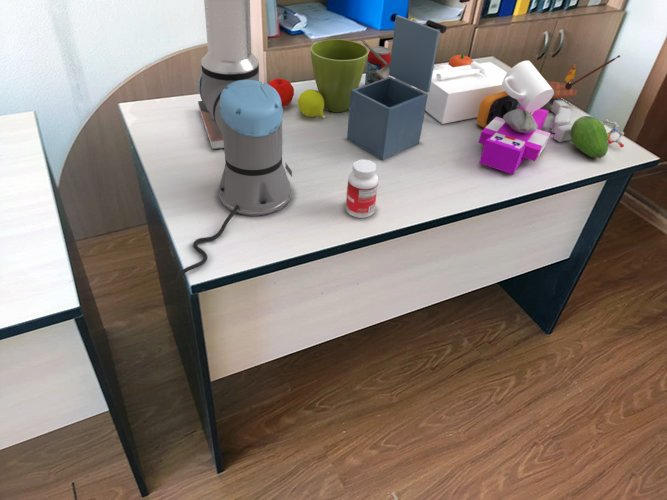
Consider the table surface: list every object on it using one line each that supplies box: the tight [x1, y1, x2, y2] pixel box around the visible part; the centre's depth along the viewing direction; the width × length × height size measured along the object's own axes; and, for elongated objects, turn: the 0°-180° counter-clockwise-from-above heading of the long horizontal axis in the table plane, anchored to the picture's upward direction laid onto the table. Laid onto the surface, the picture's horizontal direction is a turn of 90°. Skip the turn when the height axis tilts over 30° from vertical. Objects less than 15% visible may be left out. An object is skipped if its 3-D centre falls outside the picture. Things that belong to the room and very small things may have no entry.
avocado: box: [571, 115, 609, 159], centre depth 136 cm, size 8×8×12 cm
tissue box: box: [416, 61, 508, 125], centre depth 150 cm, size 14×25×11 cm, turn 116°
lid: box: [389, 14, 447, 93], centre depth 128 cm, size 14×13×9 cm
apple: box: [267, 78, 295, 108], centre depth 145 cm, size 8×8×7 cm
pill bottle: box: [345, 159, 379, 219], centre depth 109 cm, size 6×6×11 cm
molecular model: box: [603, 118, 625, 148], centre depth 141 cm, size 7×8×8 cm
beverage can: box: [364, 45, 391, 85], centre depth 155 cm, size 7×7×12 cm
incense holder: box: [545, 54, 621, 99], centre depth 156 cm, size 21×30×11 cm
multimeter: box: [476, 91, 521, 129], centre depth 146 cm, size 9×18×3 cm
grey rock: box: [503, 109, 538, 133], centre depth 130 cm, size 12×8×5 cm
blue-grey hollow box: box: [346, 76, 428, 161], centre depth 131 cm, size 14×13×13 cm
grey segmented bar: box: [550, 98, 574, 143], centre depth 147 cm, size 20×4×7 cm
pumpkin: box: [447, 53, 474, 67], centre depth 168 cm, size 8×8×7 cm
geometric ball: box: [433, 63, 452, 70], centre depth 159 cm, size 8×8×8 cm
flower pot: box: [310, 38, 369, 113], centre depth 144 cm, size 15×15×16 cm
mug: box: [502, 60, 554, 114], centre depth 137 cm, size 12×8×10 cm
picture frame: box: [197, 100, 224, 150], centre depth 137 cm, size 16×2×22 cm
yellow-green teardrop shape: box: [297, 88, 327, 120], centre depth 141 cm, size 7×7×10 cm
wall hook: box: [358, 36, 390, 79], centre depth 148 cm, size 5×30×4 cm
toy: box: [478, 106, 552, 175], centre depth 136 cm, size 14×6×30 cm
